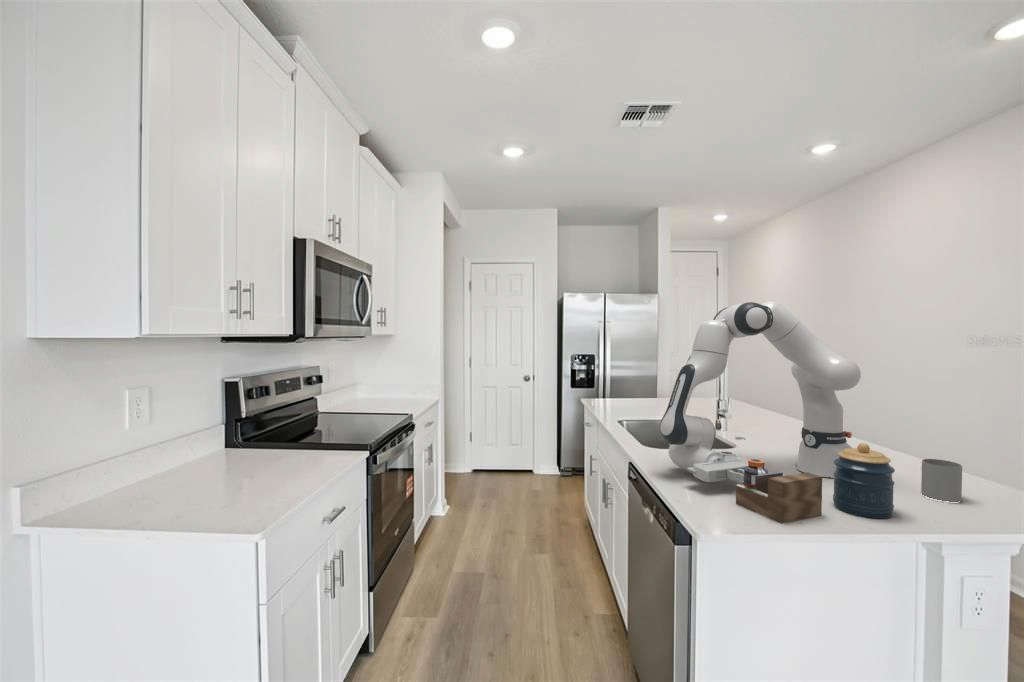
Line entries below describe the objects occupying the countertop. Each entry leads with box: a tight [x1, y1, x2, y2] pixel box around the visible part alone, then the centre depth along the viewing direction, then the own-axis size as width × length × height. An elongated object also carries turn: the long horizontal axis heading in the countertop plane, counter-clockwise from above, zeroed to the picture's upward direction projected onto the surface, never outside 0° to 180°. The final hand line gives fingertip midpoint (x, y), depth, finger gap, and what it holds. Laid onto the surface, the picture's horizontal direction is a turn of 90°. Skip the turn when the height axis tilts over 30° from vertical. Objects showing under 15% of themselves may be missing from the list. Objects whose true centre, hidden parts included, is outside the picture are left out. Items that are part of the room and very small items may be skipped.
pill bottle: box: [743, 458, 769, 486], centre depth 131 cm, size 6×6×11 cm
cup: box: [920, 458, 963, 502], centre depth 134 cm, size 8×8×10 cm
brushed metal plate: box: [745, 471, 784, 494], centre depth 128 cm, size 12×1×8 cm, turn 111°
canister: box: [832, 442, 896, 519], centre depth 125 cm, size 13×13×18 cm
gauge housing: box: [735, 472, 823, 524], centre depth 125 cm, size 14×14×10 cm
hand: (747, 477), depth 134 cm, fingers closed, pressing on pill bottle
